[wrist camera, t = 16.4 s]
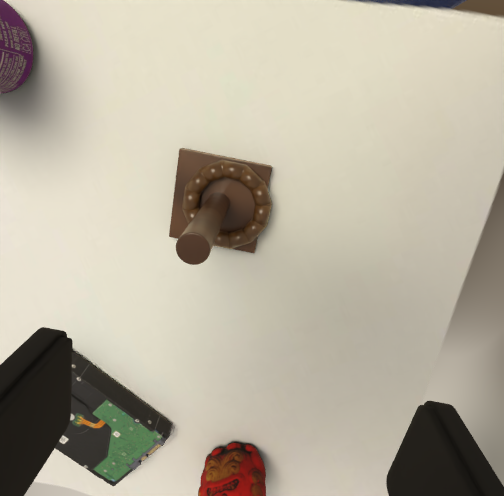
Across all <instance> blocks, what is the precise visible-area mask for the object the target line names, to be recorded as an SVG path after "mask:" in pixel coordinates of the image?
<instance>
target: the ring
mask: <svg viewBox="0 0 504 496" xmlns="http://www.w3.org/2000/svg"><path fill="white" fill-rule="evenodd" d="M224 177H225V178H229V179H234V180H239V181H240V182H241V183H242V184H244V185H245V186H246V187H247V188H248V189H249V190H250V191H251V193H252V196H253V199H254V202H255V208H254V213H253V218H252V219H251V220H250V222H249V223H248V224H247V225H246V226H245V227H244V228H243V229H240V230H237V231H234V232H231V233H227V232H222V231H219V233H218V235H217V237H216V240H215V242H214V245H213V246H218V247H223V248H228V249H232V248H235V247H239V246H242V245H245V244H248V243H251V242H253V241H254V239H255V238H256V237H257V236H258V235H259V234H260V233H261V232H262V231H263V230H264V229H265V228H266V226H267V224H268V220H269V215H270V210H271V206H272V202H271V199H270V196H269V193H268V190H267V186H266V183H265V181H264V180H263V179H262V178H261V177H260V176H259V175H258V174H256V173H255V172H254V171H253V170H252V169H251V168H250V167H249V166H247V165H245V164H241V163H236V162H231V161H226V160H221V161H218V162H215V163H212V164H209V165H206V166H203V167H201V168H199V169H198V171H197V172H196V173H195V174H194V176H193V177H192V178H191V179H190V181H189V182H188V183H187V184H186V186H185V190H184V198H183V205H182V210H183V213H184V215H185V218H186V220H187V223H188V225H189V224H190V222H191V221H192V220H193V218H194V217H195V216H196V214H197V213H198V211H199V202H200V195H201V192H202V191H203V190H204V189H205V188H206V186H207V185H208V184H209V183H210V182H212V181H215V180H218V179H221V178H224Z"/></svg>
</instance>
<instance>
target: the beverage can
mask: <svg viewBox="0 0 504 496" xmlns="http://www.w3.org/2000/svg"><path fill="white" fill-rule="evenodd" d="M32 64H33V45H32V41H31V37H30V34H29V32H28V29H27V27H26V25H25V23H24V22H23V20H22V19H21V17H20V16H19V15H18V13H17V12H16V11H15V10H14V9H13V8H12V7H11V6H10V5H9V4H7V3H6V2H5V1H3V0H0V93H7V92H11V91H13V90H15V89H17V88H18V87H20V86H21V85H22V84H23V83H24V82H25V80H26V79H27V77H28V76H29V74H30V71H31V68H32Z"/></svg>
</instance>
